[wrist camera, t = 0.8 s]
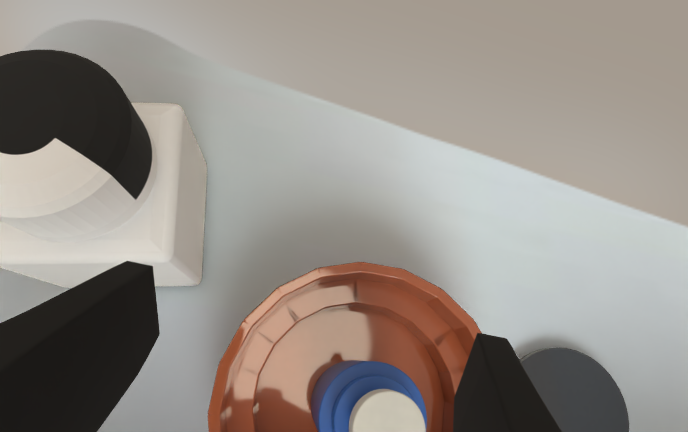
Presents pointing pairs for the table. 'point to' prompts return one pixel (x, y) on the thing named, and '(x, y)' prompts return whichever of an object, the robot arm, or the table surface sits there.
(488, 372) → the robot arm
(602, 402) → the coaster
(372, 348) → the bowl
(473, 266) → the table surface
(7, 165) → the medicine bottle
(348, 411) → the bottle
